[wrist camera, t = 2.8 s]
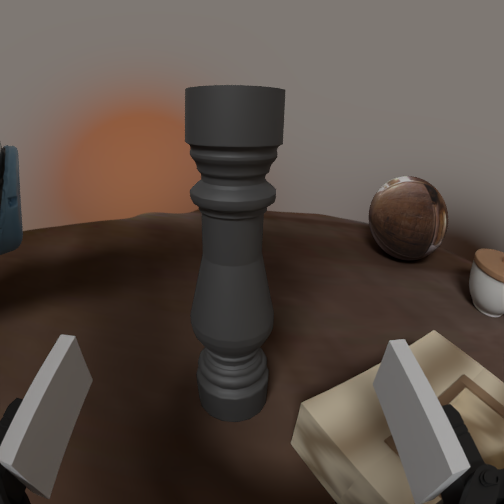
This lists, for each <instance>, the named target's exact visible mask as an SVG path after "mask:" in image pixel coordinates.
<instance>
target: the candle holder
mask: <svg viewBox="0 0 504 504" xmlns="http://www.w3.org/2000/svg"><path fill="white" fill-rule="evenodd" d="M284 106H285V90H284V89H279V88H271V87H262V86H243V85H215V86H198V87H190V88H186V89H185V142H186V143H188V144H189V145H190V147H191V150H190V155H191V157H192V158H193V160H194V161H195V162H196V165H197V169H198V171H199V172H200V173H201V180H200V181H198V182H197V183H196V184H195V185H194V186H193V187H192V189H191V190H190V197H191V199H192V201H193V203H194V204H195V205H197V206H198V207H199V210H200V212H201V213H202V242H203V255H202V260H201V265H200V270H199V275H198V280H197V285H196V290H195V295H194V300H193V305H192V310H191V315H190V316H191V324H192V327H193V331H194V333H195V335H196V338H197V339H198V340H199V341H200V342H201V343H202V344H203V345H204V346H205V348H204V349H203V350H202V351H201V353H200V357H199V360H198V365H199V366H198V370H197V374H196V375H197V383H198V390H199V397H200V401H201V404H202V407H203V408H204V409H205V410H206V411H207V412H208V413H209V414H210V415H211V416H213V417H215V418H217V419H219V420H222V421H230V422H239V421H243V420H247V419H250V418H252V417H253V416H255V415H256V414H258V413H259V412H260V411H261V410H262V408H263V406H264V405H265V403H266V395H267V386H268V368H267V366H266V365H267V358H266V356H265V354H264V352H263V350H262V349H261V348H260V347H261V346H262V344H263V343H264V342H265V341H266V339H267V338H268V336H269V335H270V333H271V331H272V329H273V317H274V311H273V306H272V301H271V296H270V291H269V286H268V281H267V276H266V271H265V266H264V261H263V256H262V236H263V216H264V213H265V212H266V211H267V207H268V206H270V205H271V204H273V203H274V202H275V198H276V189H275V188H274V187H273V186H272V185H271V184H270V183H268V182H267V181H266V179H265V175H266V174H267V173H269V170H270V166H271V164H272V163H273V162H274V161H275V159H276V158H277V148H278V147H279V146H280V145H282V144H283V127H284Z"/></svg>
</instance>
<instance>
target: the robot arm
mask: <svg viewBox="0 0 504 504" xmlns="http://www.w3.org/2000/svg"><path fill="white" fill-rule="evenodd" d="M21 216H22V215H21V199H20V183H19V161H18V151H17V148H16V147H14V146H8V145H7V146H4V147H3V148H1V143H0V255H2V254H5V253H8V252H11V251H13V250H15V249H17V248H18V247H19V246H20V244H21V242H22V237H23V231H22V217H21ZM92 381H93V379H92V377H91V375H90V372H89V370H88V368H87V365H86V363H85V360H84V358H83V355H82V353H81V350H80V347H79V345H78V342H77V339H76V337H75V336H69V335H62V334H61V335H60V337H59V339H58V340H57V342H56V343H55V345H54V347H53V348H52V350H51V352H50V353H49V355H48V357H47V358H46V360H45V362H44V363H43V365H42V367H41V368H40V370H39V372H38V374H37V375H36V377H35V379H34V381H33V383H32V384H31V386H30V388H29V390H28V392H27V393H26V395H25V397H24V399H19V398H16V399H15V400H14V401H13V402H12V403H11V404H10V405H9V406H8V407H7V409H6V411H5V413H4V415H3V416H4V417H3V418H2V419H1V421H0V504H31V503H30V501H29V498H28V496H27V494H26V493H25V489H26V487H27V488H28V489H29V490H30V491H32V492H33V493H35V494H37V495H40V496H42V497H45V498H47V499H50V495H51V492H52V489H53V486H54V483H55V479H56V476H57V473H58V470H59V467H60V464H61V461H62V458H63V456H64V453H65V450H66V447H67V444H68V442H69V439H70V436H71V433H72V431H73V428H74V425H75V423H76V420H77V418H78V415H79V413H80V410H81V408H82V405H83V403H84V400H85V398H86V395H87V393H88V390H89V388H90V386H91V383H92ZM373 387H374V389H375V392H376V394H377V397H378V399H379V402H380V405H381V407H382V410H383V413H384V415H385V418H386V420H387V423H388V426H389V429H390V431H391V434H392V437H393V440H394V442H395V445H396V448H397V451H398V454H399V456H400V459H401V462H402V465H403V468H404V471H405V474H406V477H407V480H408V483H409V486H410V489H411V492H412V495H413V499H414V502H415V504H423V503H426V502H428V501H431V500H433V499H435V498H436V497H437V496H438V495H439V494H441V497H442V499H441V500H440V501H439V502H437V503H436V504H504V469H497V468H496V467H494V466H492V465H489V464H486V463H485V462H484V461H483V459H482V457H481V455H480V453H479V451H478V449H477V446H476V444H475V442H474V440H473V438H472V436H471V434H470V432H468V428H467V427H466V425H465V424H464V421H463V419H462V417H461V415H460V413H459V412H458V411H457V410H456V409H455V408H454V407H453V406H452V405H451V404H447V405H443V406H441V404H440V402H439V400H438V399H437V397H436V395H435V393H434V391H433V389H432V387H431V385H430V383H429V382H428V380H427V378H426V376H425V374H424V372H423V371H422V369H421V367H420V365H419V364H418V362H417V360H416V358H415V356H414V355H413V353H412V351H411V349H410V348H409V346H408V344H407V343H406V341H405V339H401V340H391V341H389V343H388V345H387V348H386V351H385V354H384V356H383V359H382V362H381V364H380V367H379V369H378V372H377V374H376V377H375V379H374V382H373Z"/></svg>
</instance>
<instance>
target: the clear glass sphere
mask: <svg viewBox="0 0 504 504" xmlns="http://www.w3.org/2000/svg"><path fill="white" fill-rule="evenodd" d="M369 225H370V230H371V233H372V235H373V237H374V239H375V241H376V242H377V244H378V245H379V246H380V247H381V248H382V249H383V250H384V251H385V252H386V253H388V254H389V255H391V256H393V257H395V258H398V259H401V260H418V259H421V258H424V257H426V256H428V255H430V254H431V253H432V252H434V251H435V250H436V249H437V248H438V247H439V245H440V244H441V242H442V241H443V239H444V237H445V234H446V231H447V227H448V212H447V208H446V204H445V202H444V200H443V198H442V196H441V195H440V193H439V192H438V190H437V189H436V188H435V187H433V186H432V185H431V184H430V183H428V182H427V181H425V180H423V179H420V178H417V177H412V176H403V177H398V178H395V179H392V180H390V181H388V182H387V183H385V184H384V185H383V186H382V187H381V188H380V189H379V190H378V191H377V192H376V194H375V196H374V197H373V200H372V202H371V205H370V210H369Z"/></svg>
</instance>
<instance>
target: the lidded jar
mask: <svg viewBox="0 0 504 504" xmlns="http://www.w3.org/2000/svg"><path fill="white" fill-rule="evenodd" d="M469 289H470V294H471V297H472V299H473V304H474V306H475V307H476V308H477V309H478V310H479V311H480V312H482V313H483V314H485V315H487V316H490V317H500V316H502V315H503V314H504V253H503V252H500V251H497V250H493V249H479V250H477V251H476V253H475V256H474V261H473V264H472V268H471V272H470V278H469Z"/></svg>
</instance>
